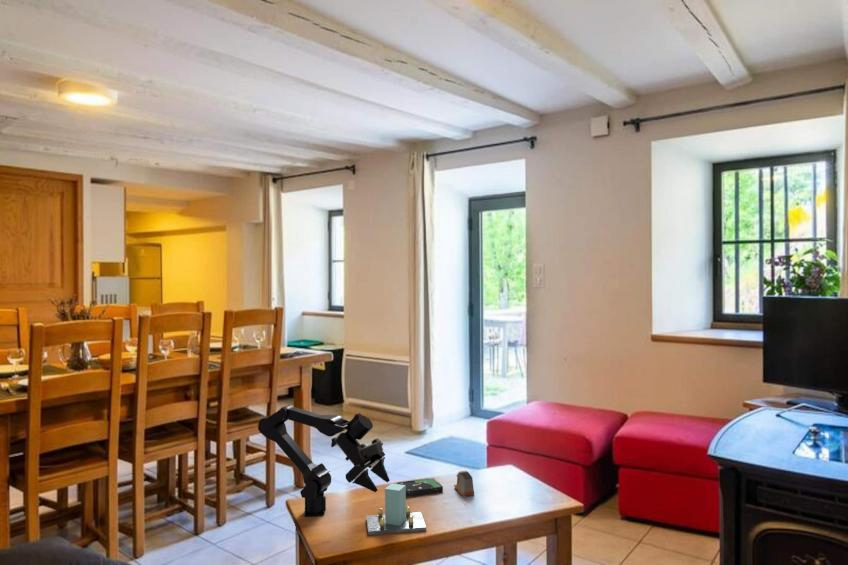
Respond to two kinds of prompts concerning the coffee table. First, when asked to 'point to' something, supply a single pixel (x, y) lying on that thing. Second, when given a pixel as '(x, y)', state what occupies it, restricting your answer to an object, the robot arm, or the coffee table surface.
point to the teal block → (395, 504)
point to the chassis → (411, 524)
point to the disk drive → (422, 487)
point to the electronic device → (464, 484)
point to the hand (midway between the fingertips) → (382, 486)
